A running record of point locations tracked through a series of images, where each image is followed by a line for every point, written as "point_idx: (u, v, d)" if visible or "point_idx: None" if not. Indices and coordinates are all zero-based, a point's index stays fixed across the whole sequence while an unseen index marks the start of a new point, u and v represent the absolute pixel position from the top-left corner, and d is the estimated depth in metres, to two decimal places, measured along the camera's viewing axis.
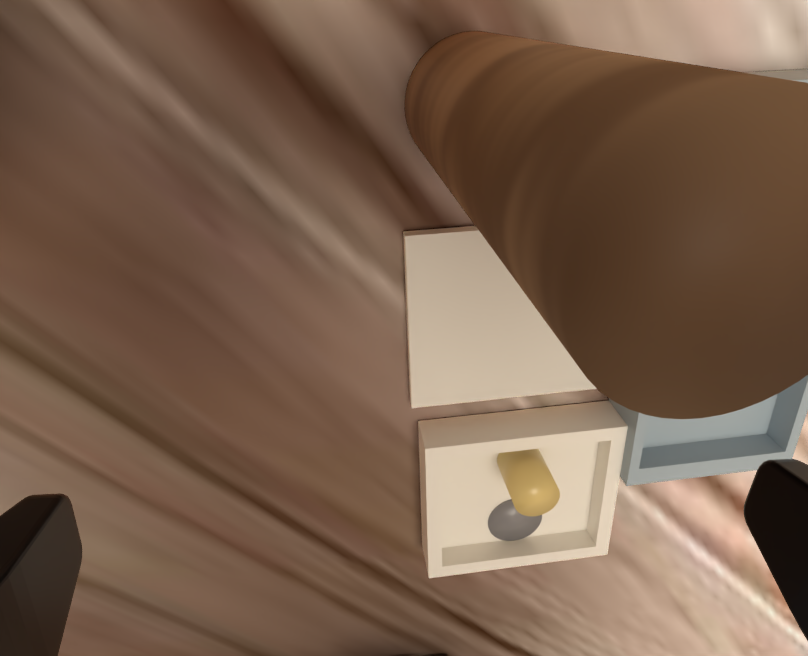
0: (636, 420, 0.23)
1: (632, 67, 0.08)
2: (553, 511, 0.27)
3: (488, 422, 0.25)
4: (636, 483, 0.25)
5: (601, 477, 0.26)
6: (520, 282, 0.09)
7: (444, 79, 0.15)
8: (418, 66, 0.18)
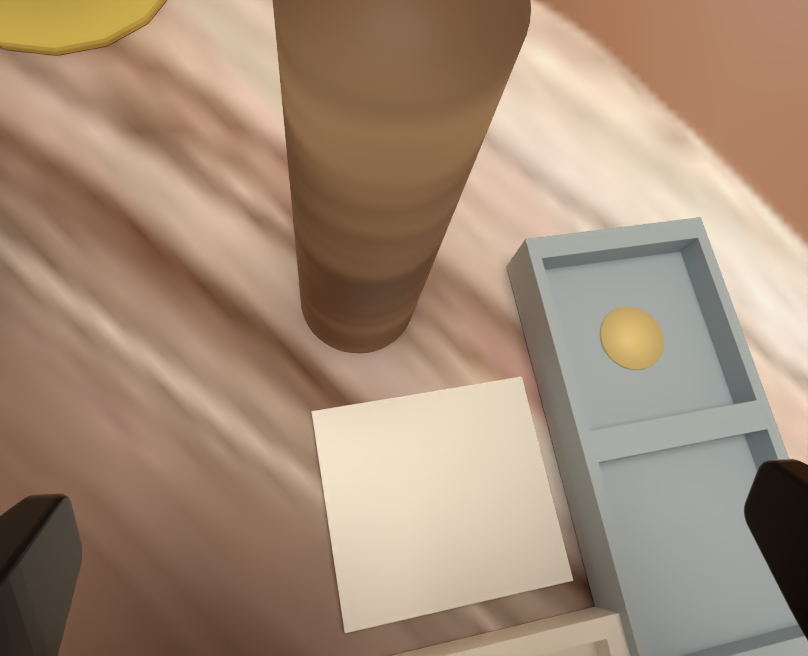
0: (620, 592, 0.19)
1: None
2: None
3: (447, 646, 0.19)
4: None
5: None
6: (296, 121, 0.11)
7: None
8: None
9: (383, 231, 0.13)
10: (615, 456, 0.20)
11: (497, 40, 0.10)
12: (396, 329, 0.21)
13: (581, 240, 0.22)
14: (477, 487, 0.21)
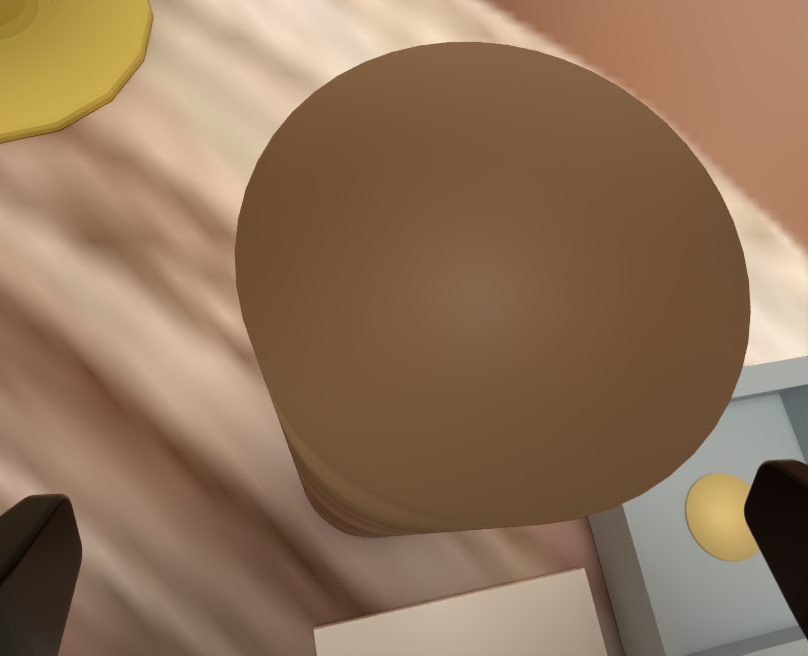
0: None
1: None
2: None
3: None
4: None
5: None
6: (288, 434, 0.06)
7: None
8: None
9: None
10: None
11: (694, 359, 0.05)
12: None
13: None
14: None
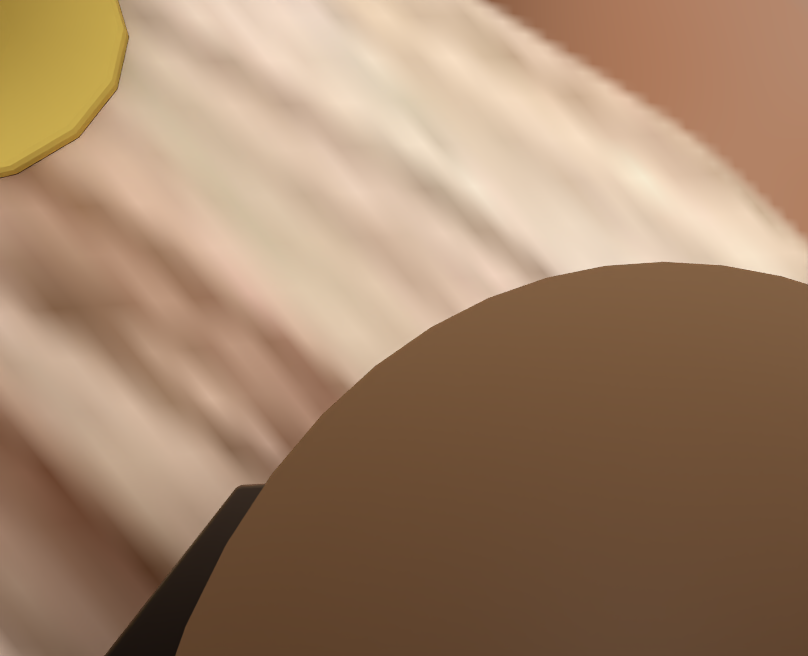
0: None
1: None
2: None
3: None
4: None
5: None
6: None
7: None
8: None
9: None
10: None
11: None
12: None
13: None
14: None
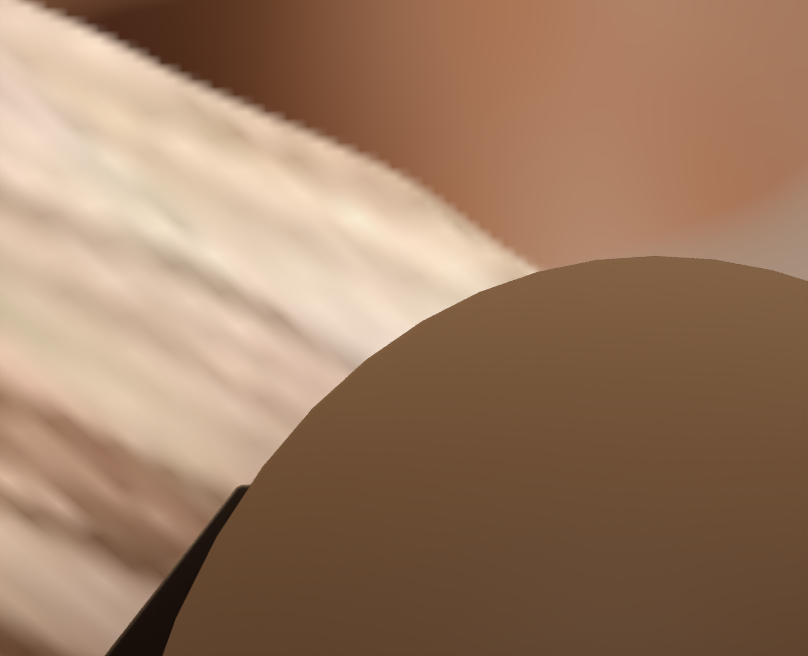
0: None
1: None
2: None
3: None
4: None
5: None
6: None
7: None
8: None
9: None
10: None
11: None
12: None
13: None
14: None
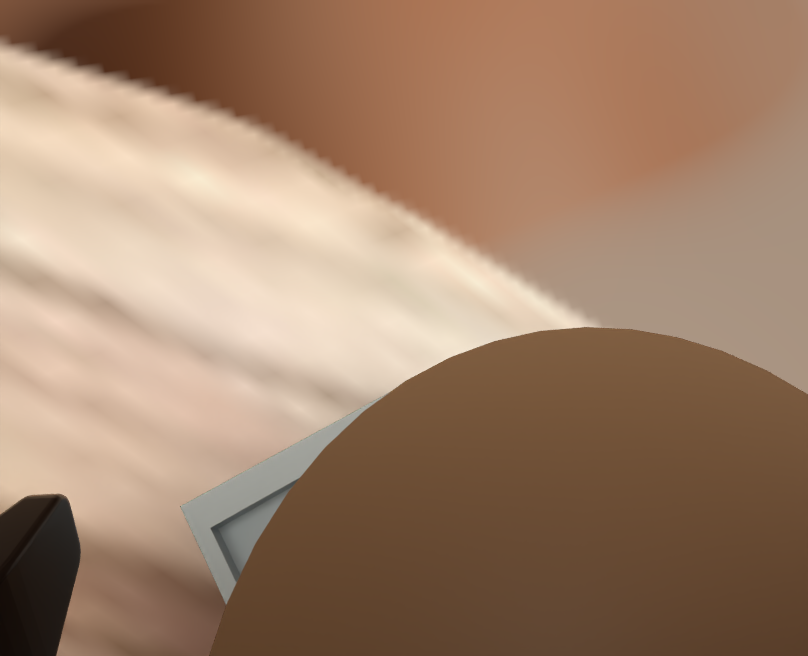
0: None
1: None
2: None
3: None
4: None
5: None
6: None
7: None
8: None
9: None
10: None
11: None
12: None
13: (264, 474, 0.15)
14: None
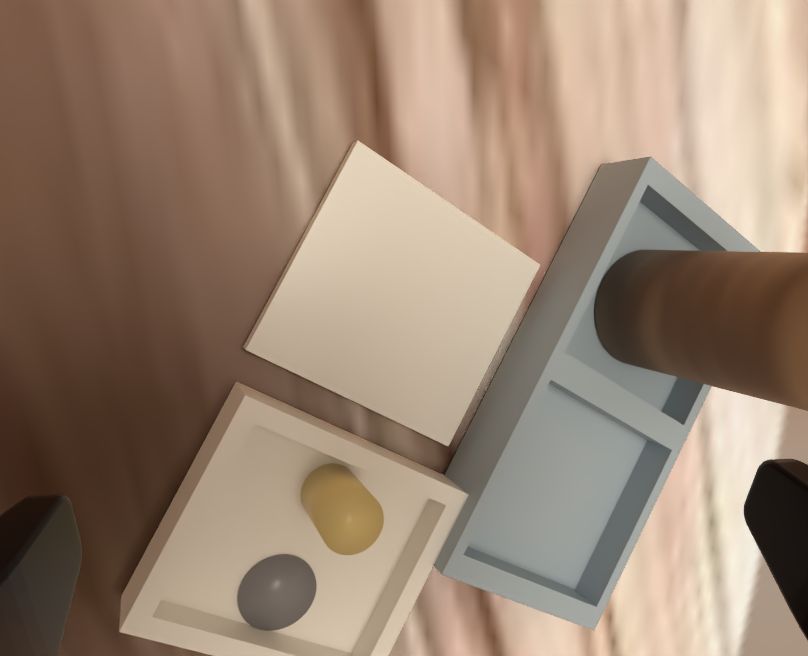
0: (485, 482, 0.20)
1: None
2: (328, 602, 0.20)
3: (320, 422, 0.19)
4: (453, 576, 0.19)
5: (410, 563, 0.20)
6: None
7: (756, 252, 0.18)
8: (650, 250, 0.22)
9: None
10: (565, 385, 0.20)
11: None
12: (655, 370, 0.21)
13: (685, 198, 0.21)
14: (437, 321, 0.20)
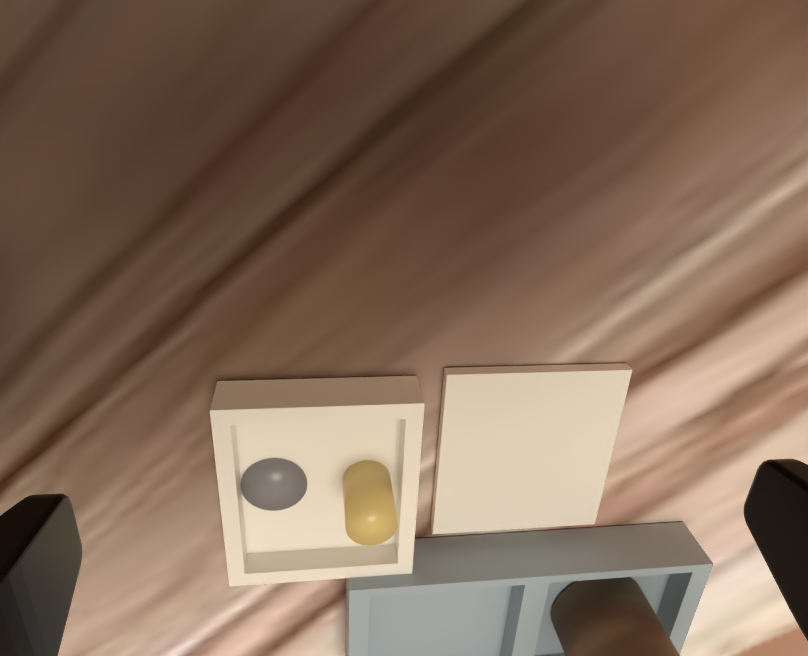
0: (429, 582, 0.24)
1: None
2: (280, 519, 0.24)
3: None
4: (351, 598, 0.24)
5: (340, 560, 0.24)
6: None
7: None
8: None
9: None
10: (525, 595, 0.25)
11: None
12: (564, 647, 0.26)
13: (693, 599, 0.27)
14: (522, 481, 0.25)
